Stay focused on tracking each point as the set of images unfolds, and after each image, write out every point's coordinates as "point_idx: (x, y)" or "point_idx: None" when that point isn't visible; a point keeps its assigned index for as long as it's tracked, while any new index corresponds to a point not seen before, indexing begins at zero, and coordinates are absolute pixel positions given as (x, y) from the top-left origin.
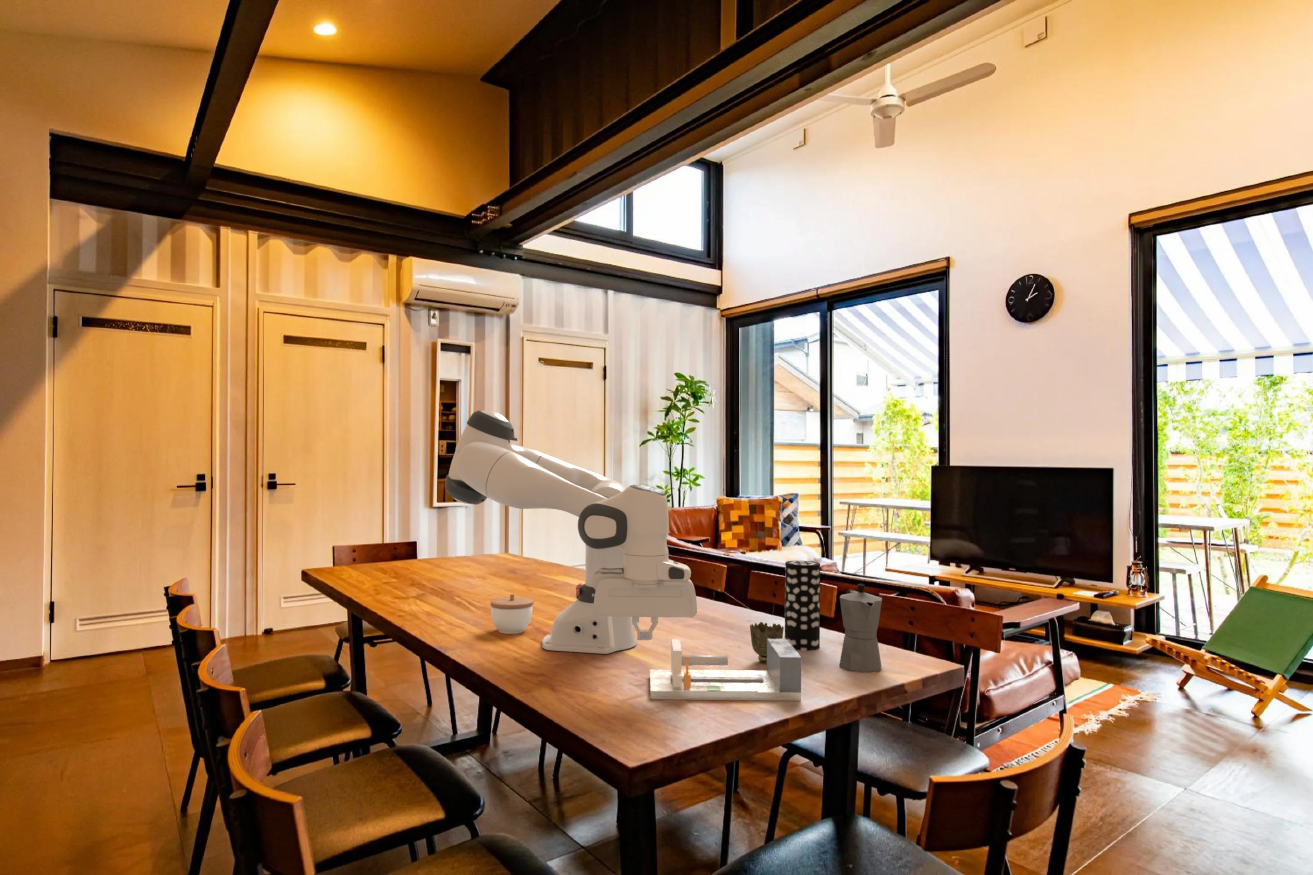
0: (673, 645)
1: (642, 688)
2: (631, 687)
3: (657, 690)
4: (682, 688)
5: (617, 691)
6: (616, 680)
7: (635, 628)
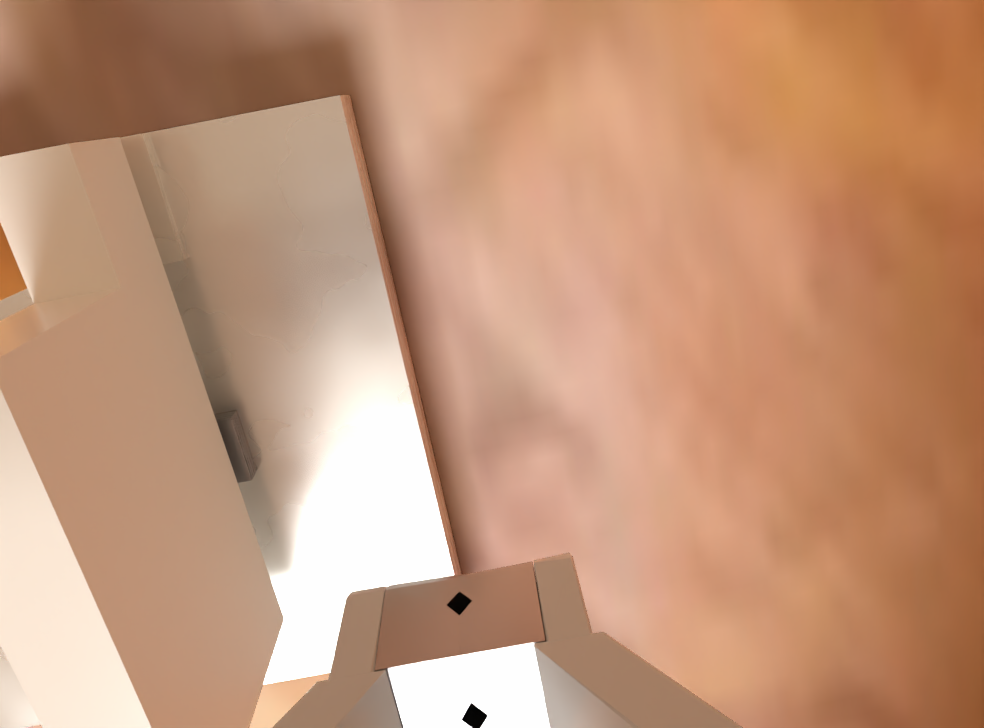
0: (88, 617)
1: (471, 352)
2: (559, 356)
3: (283, 125)
4: None
5: (652, 238)
6: (694, 485)
7: (639, 659)
